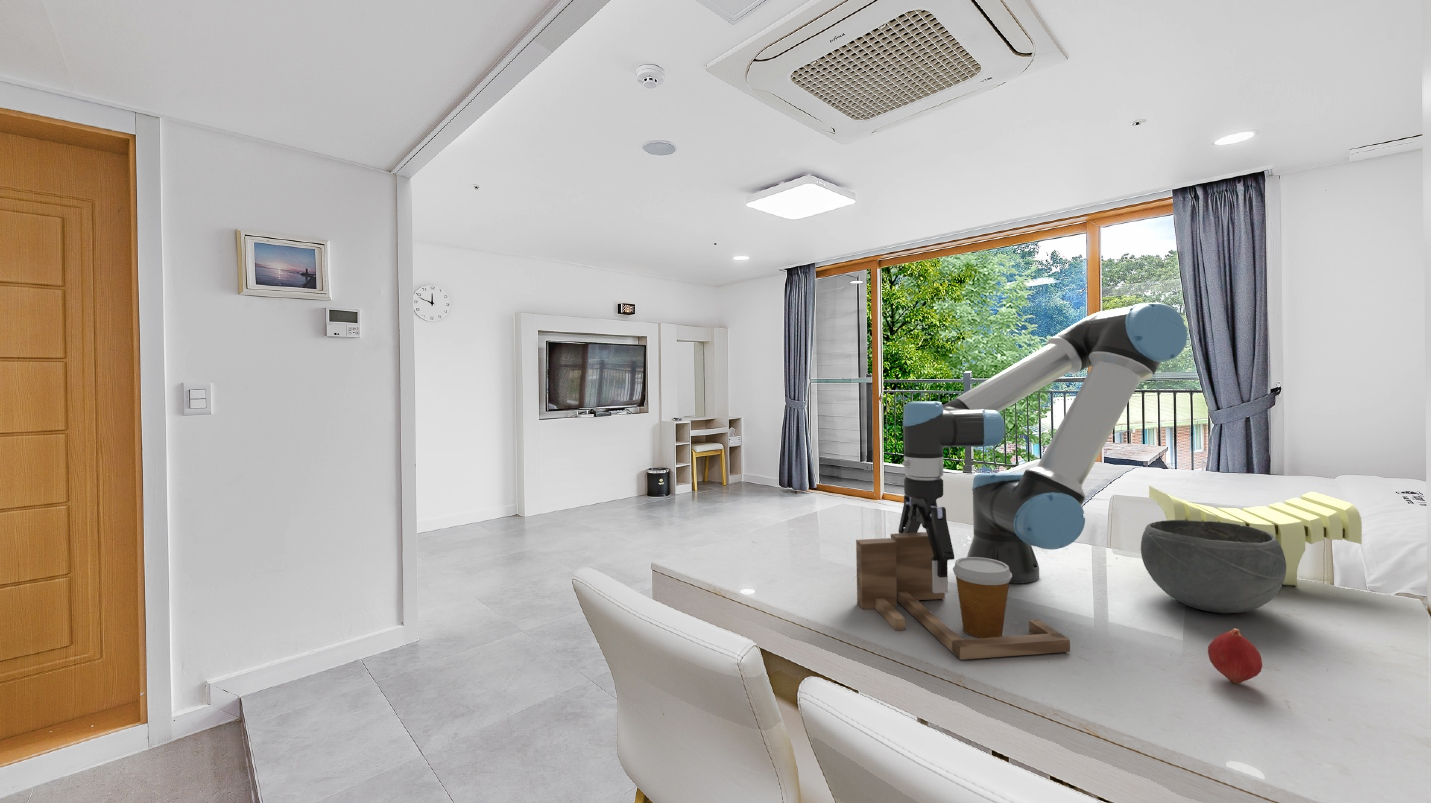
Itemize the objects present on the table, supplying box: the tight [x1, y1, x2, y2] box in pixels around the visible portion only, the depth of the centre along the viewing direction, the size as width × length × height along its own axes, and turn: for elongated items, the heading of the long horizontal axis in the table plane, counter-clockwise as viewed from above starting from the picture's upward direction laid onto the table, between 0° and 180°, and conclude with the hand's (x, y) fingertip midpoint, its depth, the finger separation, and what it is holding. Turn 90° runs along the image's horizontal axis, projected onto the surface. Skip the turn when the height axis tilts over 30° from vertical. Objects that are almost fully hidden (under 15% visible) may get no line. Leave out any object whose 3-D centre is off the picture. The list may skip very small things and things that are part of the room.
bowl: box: [1140, 519, 1286, 614], centre depth 109 cm, size 21×21×15 cm
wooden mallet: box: [855, 537, 906, 631], centre depth 108 cm, size 13×7×13 cm, turn 5°
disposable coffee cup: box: [952, 556, 1012, 638], centre depth 101 cm, size 10×10×12 cm
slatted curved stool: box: [1148, 485, 1363, 587], centre depth 125 cm, size 30×16×18 cm, turn 69°
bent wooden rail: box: [890, 531, 1071, 661], centre depth 104 cm, size 27×19×13 cm
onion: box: [1207, 628, 1263, 684], centre depth 82 cm, size 6×6×8 cm
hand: (924, 580), depth 116 cm, fingers open, 12 cm apart
